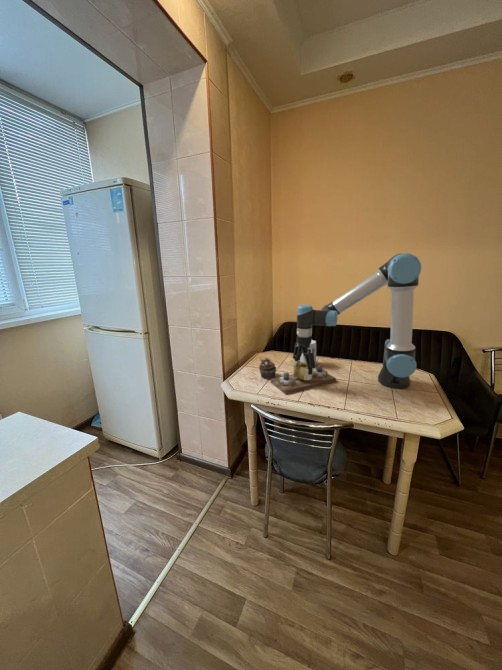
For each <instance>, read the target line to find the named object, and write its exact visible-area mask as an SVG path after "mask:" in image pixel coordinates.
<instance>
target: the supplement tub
mask: <svg viewBox="0 0 502 670" xmlns="http://www.w3.org/2000/svg"><path fill="white" fill-rule="evenodd" d="M309 346H310V348H311V349H314V361H315V365H317V341H316V340H313V339H311V343H310V345H309ZM306 354H308V353H306ZM299 361H300V362H303V363H306V359H305V356H304V355H303V353H302V355H301V357H300V360H299Z"/></svg>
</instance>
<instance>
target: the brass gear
mask: <svg viewBox="0 0 502 670" xmlns="http://www.w3.org/2000/svg"><path fill="white" fill-rule="evenodd" d="M307 368H308V367H307V363H303V362H300V363H295V362H294V365H293V374H294V377H297V379H298V380H299V379H304V380H306V374H307ZM313 370H314V368H312V376H313Z"/></svg>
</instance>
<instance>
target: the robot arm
mask: <svg viewBox="0 0 502 670" xmlns="http://www.w3.org/2000/svg"><path fill="white" fill-rule="evenodd" d="M421 272H422V263H421V261H420V259H419V258H418V257H417V256H416V255H414V254H412V253H408V252H407V253H397V254H395V255H393V256H392V257H391V258H389V259H388V261H386V262H385V263H384V264H382V265H381V266H379V267H378V268H377V271H375V272H374V273H373V274H371V275H369V277H367V278H365V279H364V280H362V281H361V282H360V283H358V284H357V285H355V286H353V287H352V288H350V289H348V291H345V292H344V293H343V294H342V295H340V296H339V297H337V298H336V299H333V300H332V301H331V302H330V303H328V304H325V305H324V306H323V307H322V308H321V309H313V306H312V305H311V304H300V305H298V306H297V309H296V310H297V312H296V335H297V336H296V342H294V349H293V354H292V359H293V360H294V364H295V363H300V357H301V355H302V353H303V355H304V356H305V359H306V363H307V367H308V368H307V374H306V380H311V379H312V368H313V369H316V364H315V361H314V349H311V348H310V346H309V345H310V343H311V340H313V338H312V334H313V326H321V327H322V326H325V327H336V326H337V324H338V316H339V315H340V314H342V313H343V312H345V311H347V310H348V309H349V308H351V307H353V306H355V305H356V304H357V303H360V302H361V301H362V300H364V299H365V298H367V297H369V296H370V295H372V294H373V293H375V292H377V291H378V290H380V289H381V288H383V287H385V286H387V288H388V289H389V290H390V291H391V298H390V301H391V302H390V338H388V339H386V340H385V342H384V352H383V360H382V367H381V370H379V373H378V376H377V382H378V383H379V384H380V385H382V386H385V387H387V388H391V389H398V390H399V389H400V390H401V389H407V388H409V387H410V386H411V383H412V381H411V377H410V376H412V375H413V374H414V373H415V372H416V370H417V366H418V365H417V361H416V346H415V345H414V344H413V343H412V341H413V324H414V323H413V322H414V321H413V320H414V317H413V316H414V301H415V297H414V296H415V295H414V294H415V290H416V288H418V287H419V281H420V277H419V276H420V274H421ZM306 353H308V354H306Z"/></svg>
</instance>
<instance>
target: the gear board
mask: <svg viewBox="0 0 502 670" xmlns="http://www.w3.org/2000/svg"><path fill="white" fill-rule="evenodd" d="M336 382H337V378H336V377H335V376H333V375H331V374H329V373H328V371H327V370H325V369H324V368H323V365H321V364H320V365H319V364H315V368H313V376H312V379H311V380H304V379H299V380H298V379H297V377H294V373H292V374H289V372H284V373H283V375H282V376H279V377H274V378H271V379H270V383H271V384H272V385H273V386H275V387H276V388H277V389H278V390H279V391H281V392H282V393H283V394H284V395H289V394H293V393H297V392H300V391H304V390H308V389H311V388H315V387H320V386H324V385H327V384H332V383H336Z"/></svg>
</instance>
